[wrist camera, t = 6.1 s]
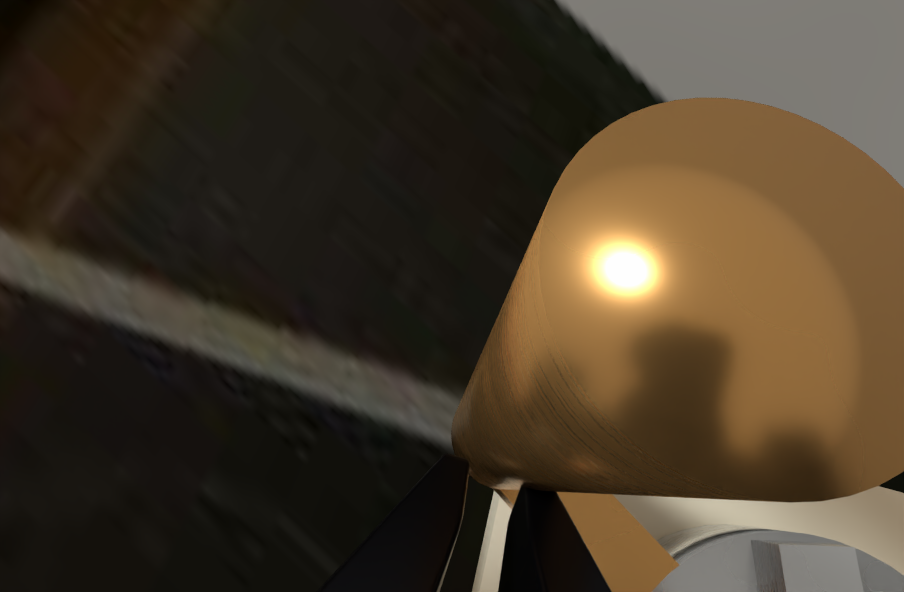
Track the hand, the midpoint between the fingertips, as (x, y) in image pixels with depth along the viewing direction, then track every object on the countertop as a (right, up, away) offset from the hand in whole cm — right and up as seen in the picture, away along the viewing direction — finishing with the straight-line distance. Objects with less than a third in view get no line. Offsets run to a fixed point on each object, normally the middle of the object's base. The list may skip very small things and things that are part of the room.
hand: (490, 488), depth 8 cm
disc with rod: (+5, -5, +5) cm, 9 cm away
